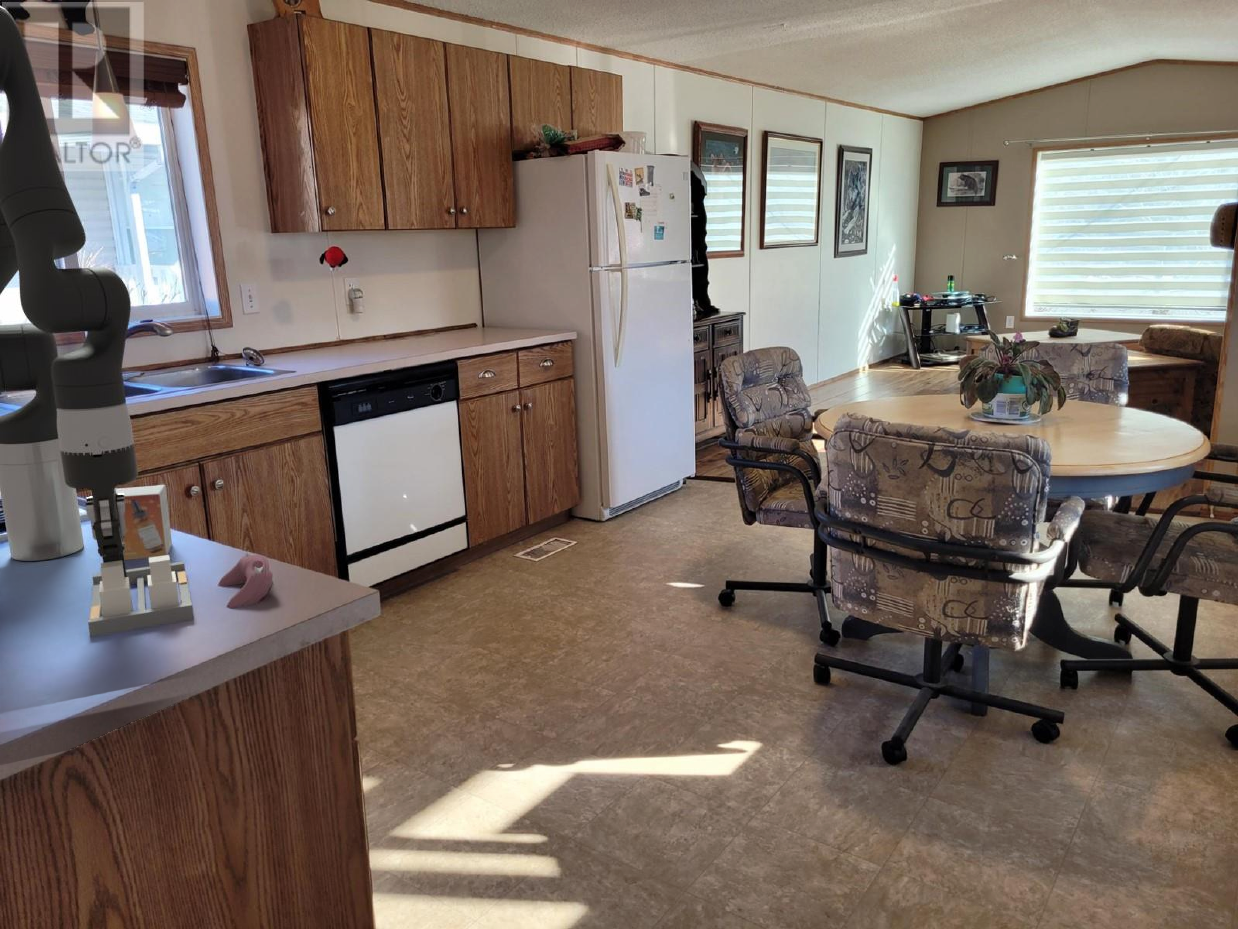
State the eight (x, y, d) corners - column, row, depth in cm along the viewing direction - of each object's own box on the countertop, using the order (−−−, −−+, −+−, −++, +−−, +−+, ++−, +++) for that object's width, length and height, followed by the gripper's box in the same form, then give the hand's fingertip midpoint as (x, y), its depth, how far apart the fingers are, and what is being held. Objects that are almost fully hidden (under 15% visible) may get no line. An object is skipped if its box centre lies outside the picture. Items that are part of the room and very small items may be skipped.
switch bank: (94, 593, 117) (91, 571, 116) (187, 578, 122) (184, 557, 121) (89, 652, 100) (85, 627, 99) (197, 633, 105) (194, 609, 104)
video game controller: (261, 625, 111) (283, 572, 111) (224, 616, 109) (246, 562, 109) (249, 598, 119) (269, 550, 119) (214, 589, 117) (235, 540, 117)
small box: (105, 570, 125) (94, 498, 123) (113, 557, 130) (103, 487, 128) (168, 564, 127) (159, 493, 125) (174, 552, 133) (165, 483, 130)
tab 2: (151, 606, 109) (144, 555, 108) (178, 601, 111) (172, 551, 109) (152, 617, 106) (145, 566, 104) (180, 613, 107) (174, 561, 106)
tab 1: (104, 612, 107) (97, 561, 106) (132, 608, 109) (125, 557, 107) (103, 624, 104) (96, 571, 102) (133, 619, 105) (125, 567, 104)
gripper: (62, 436, 109) (83, 571, 113) (56, 458, 97) (78, 607, 101) (132, 430, 112) (150, 561, 116) (134, 450, 101) (153, 595, 105)
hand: (117, 582), depth 109 cm, fingers closed
